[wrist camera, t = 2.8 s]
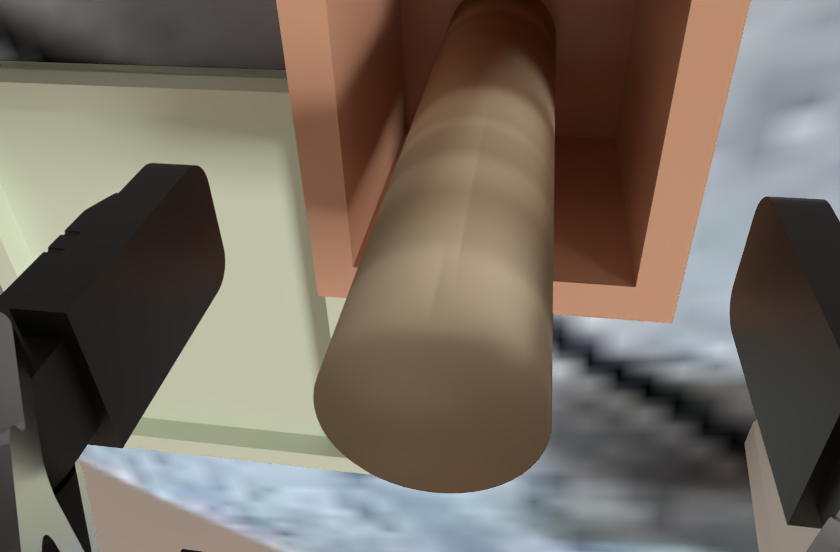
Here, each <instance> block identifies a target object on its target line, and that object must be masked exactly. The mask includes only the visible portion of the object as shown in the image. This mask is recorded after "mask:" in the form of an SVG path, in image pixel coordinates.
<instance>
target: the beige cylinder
mask: <svg viewBox="0 0 840 552" xmlns="http://www.w3.org/2000/svg"><path fill="white" fill-rule="evenodd" d="M744 444H745V451H746V459H747V466H748V474H749V481H750V488H751V496H752V503H753V510H754V518H755V525H756V533H757V540H758V547H759V552H806V551H807V550H808V548H809V547H810V545H811V544H812V542H813V541H814V539H815V538H816V536H817V535H818V533H819V532H820V530H821V529H818V528H809V527H800V526H791V525H787V522H786V519H785V515H784V512H783V508H782V505H781V501H780V498H779V494H778V491H777V487H776V484H775V480H774V477H773V473H772V470H771V467H770V463H769V460H768V456H767V453H766V449H765V446H764V442H763V439H762V435H761V432H760V428H759V425H758V421H757V419H756V420H755V421H754V422H753V423H752V426H751V428H750V431H749V433H748V436H747V438H746V441H745V443H744Z"/></svg>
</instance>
